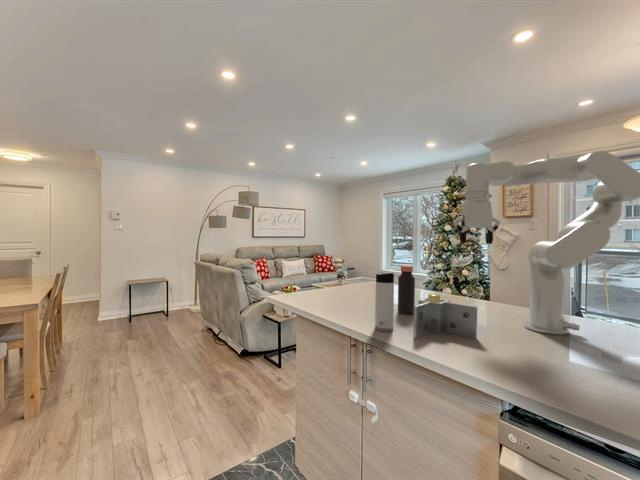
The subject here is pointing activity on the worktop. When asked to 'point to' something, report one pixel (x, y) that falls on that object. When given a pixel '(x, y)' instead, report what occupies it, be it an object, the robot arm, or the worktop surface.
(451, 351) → the worktop surface
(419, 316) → the hinge
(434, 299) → the hinge pin
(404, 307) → the bottle
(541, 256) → the robot arm
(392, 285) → the travel mug
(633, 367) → the worktop surface
